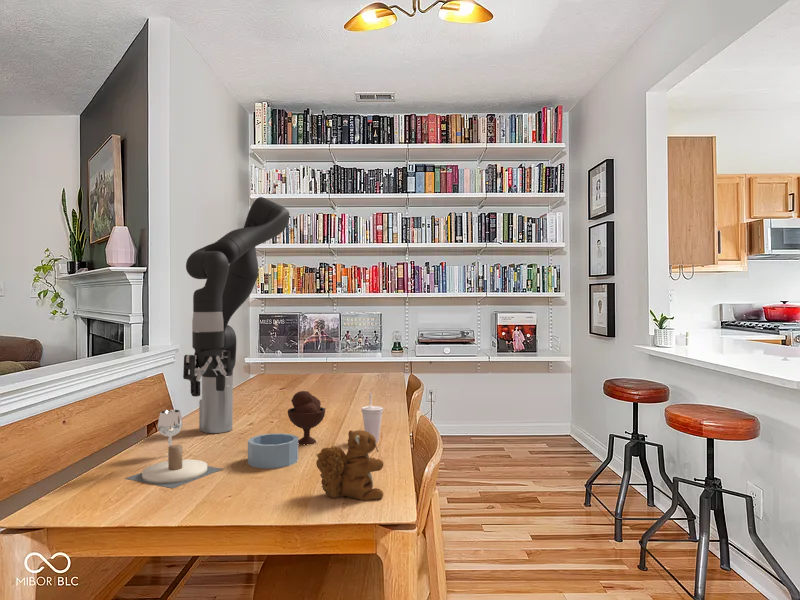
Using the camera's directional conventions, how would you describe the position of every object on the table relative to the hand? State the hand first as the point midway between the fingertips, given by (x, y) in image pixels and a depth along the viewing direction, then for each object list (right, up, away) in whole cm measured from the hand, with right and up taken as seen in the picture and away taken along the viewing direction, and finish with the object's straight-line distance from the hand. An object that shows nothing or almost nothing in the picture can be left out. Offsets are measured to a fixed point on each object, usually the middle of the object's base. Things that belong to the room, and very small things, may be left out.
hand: (208, 393), depth 138 cm
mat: (-3, -17, -12) cm, 21 cm away
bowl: (+17, -17, -2) cm, 24 cm away
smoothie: (+41, -18, +20) cm, 49 cm away
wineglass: (-11, -17, +3) cm, 21 cm away
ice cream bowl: (+22, -18, +18) cm, 33 cm away
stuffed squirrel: (+38, -18, -23) cm, 48 cm away
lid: (-3, -17, -12) cm, 21 cm away
